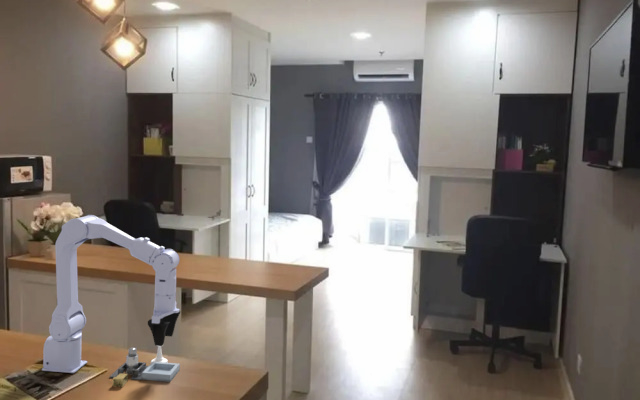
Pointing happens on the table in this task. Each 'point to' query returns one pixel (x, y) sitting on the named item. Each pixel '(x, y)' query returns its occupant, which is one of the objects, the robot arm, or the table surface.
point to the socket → (136, 373)
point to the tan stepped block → (120, 380)
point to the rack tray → (161, 371)
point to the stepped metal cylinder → (131, 361)
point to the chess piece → (159, 356)
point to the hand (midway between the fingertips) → (163, 340)
